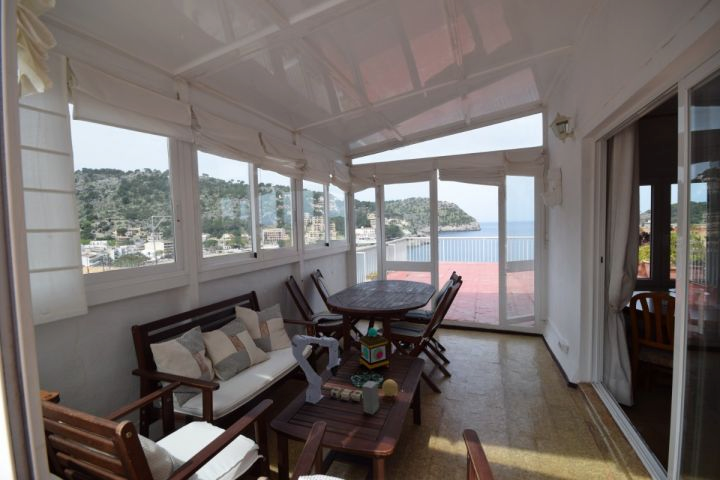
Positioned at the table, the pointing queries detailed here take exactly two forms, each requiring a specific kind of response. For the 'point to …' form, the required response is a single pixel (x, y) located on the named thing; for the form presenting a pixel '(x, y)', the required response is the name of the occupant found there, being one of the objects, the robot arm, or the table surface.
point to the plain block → (346, 394)
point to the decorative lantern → (373, 350)
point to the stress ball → (390, 387)
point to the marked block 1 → (336, 392)
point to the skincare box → (370, 397)
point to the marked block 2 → (357, 395)
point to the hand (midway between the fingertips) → (334, 375)
